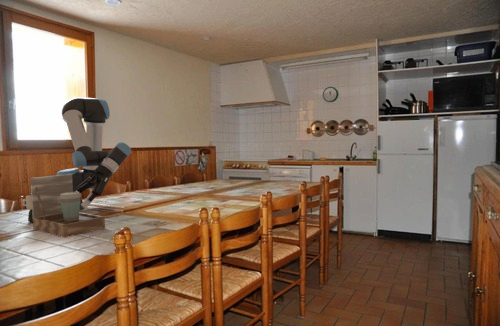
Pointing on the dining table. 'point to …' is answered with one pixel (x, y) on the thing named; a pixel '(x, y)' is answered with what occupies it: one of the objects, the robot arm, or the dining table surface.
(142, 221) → the dining table surface
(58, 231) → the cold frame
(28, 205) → the character mug
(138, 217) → the dining table surface
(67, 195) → the coffee cup
